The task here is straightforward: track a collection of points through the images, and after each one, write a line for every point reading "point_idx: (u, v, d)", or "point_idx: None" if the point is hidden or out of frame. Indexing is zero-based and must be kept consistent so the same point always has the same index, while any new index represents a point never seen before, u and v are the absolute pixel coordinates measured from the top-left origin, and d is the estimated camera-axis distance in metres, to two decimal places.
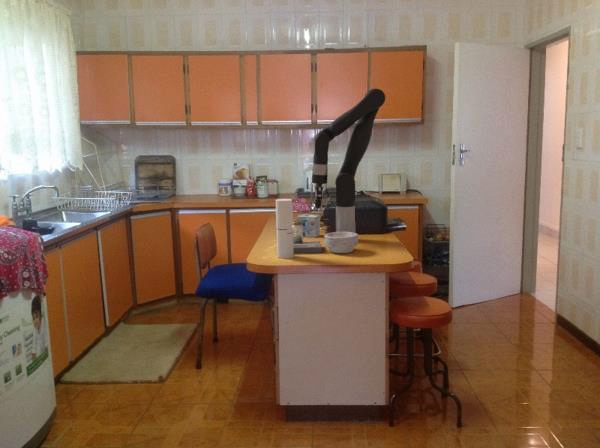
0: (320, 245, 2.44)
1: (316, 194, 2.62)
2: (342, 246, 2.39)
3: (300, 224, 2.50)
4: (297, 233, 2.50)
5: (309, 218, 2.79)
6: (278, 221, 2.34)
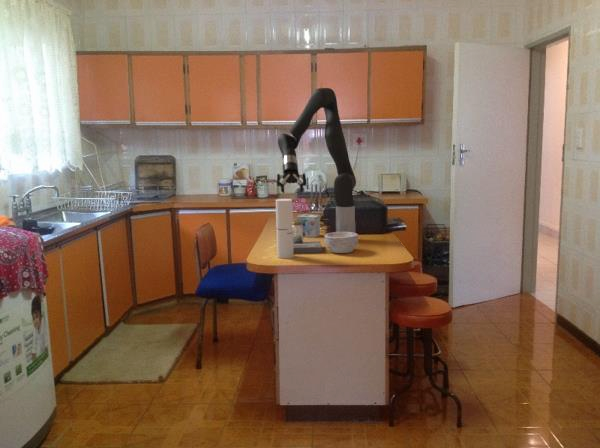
0: (320, 245, 2.44)
1: None
2: (342, 246, 2.39)
3: (300, 224, 2.50)
4: (297, 233, 2.50)
5: (309, 218, 2.79)
6: (278, 221, 2.34)
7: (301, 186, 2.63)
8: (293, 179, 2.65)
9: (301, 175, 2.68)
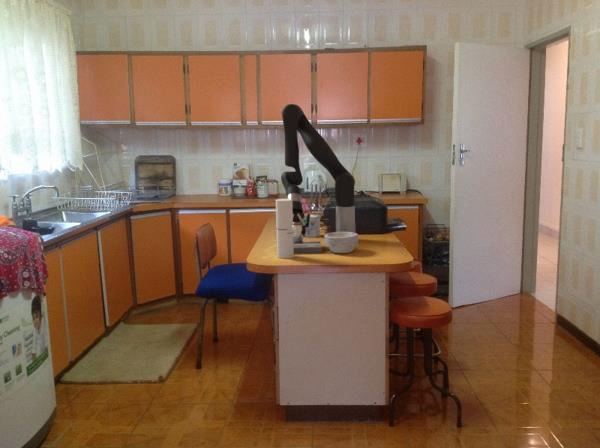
0: (320, 245, 2.44)
1: None
2: (342, 246, 2.39)
3: (300, 224, 2.50)
4: (297, 233, 2.50)
5: None
6: (278, 221, 2.34)
7: (303, 228, 2.52)
8: (296, 219, 2.55)
9: (306, 215, 2.57)
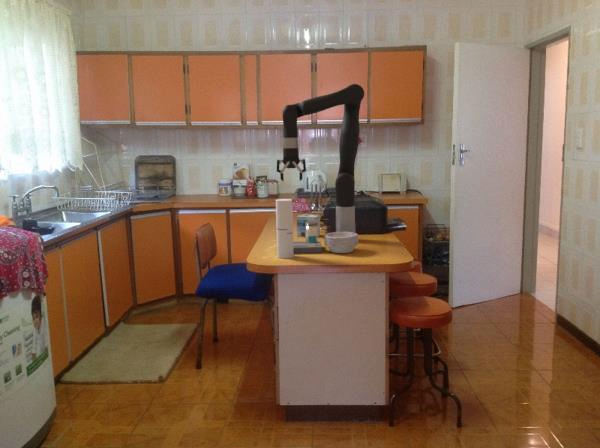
0: (320, 245, 2.44)
1: None
2: (342, 246, 2.39)
3: None
4: (317, 233, 2.48)
5: (309, 218, 2.79)
6: (278, 221, 2.34)
7: (300, 176, 2.64)
8: (293, 166, 2.63)
9: (301, 160, 2.63)
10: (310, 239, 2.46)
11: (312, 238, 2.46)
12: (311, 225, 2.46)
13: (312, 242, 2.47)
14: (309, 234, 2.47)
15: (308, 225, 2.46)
